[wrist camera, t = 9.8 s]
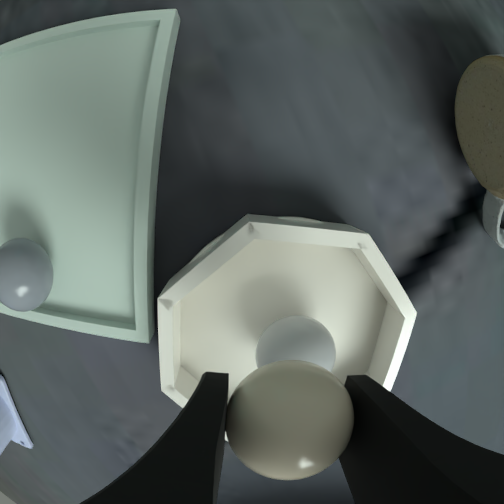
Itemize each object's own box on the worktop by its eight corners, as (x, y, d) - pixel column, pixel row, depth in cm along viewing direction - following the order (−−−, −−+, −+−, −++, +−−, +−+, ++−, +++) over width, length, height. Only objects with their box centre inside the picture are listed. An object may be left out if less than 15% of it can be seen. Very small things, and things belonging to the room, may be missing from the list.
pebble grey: (246, 367, 14) (260, 412, 11) (252, 302, 13) (269, 339, 10) (312, 363, 15) (338, 404, 11) (324, 302, 14) (357, 335, 11)
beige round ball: (223, 419, 9) (221, 501, 6) (229, 333, 8) (226, 418, 5) (322, 419, 9) (347, 494, 6) (345, 338, 9) (392, 411, 5)
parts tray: (-17, 297, 14) (-28, 303, 12) (-7, 56, 10) (-18, 52, 9) (154, 331, 14) (149, 343, 13) (180, 20, 11) (176, 8, 10)
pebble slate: (21, 291, 13) (-17, 315, 10) (15, 229, 12) (-28, 243, 9) (69, 301, 13) (33, 330, 10) (64, 233, 12) (22, 250, 9)
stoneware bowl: (171, 406, 16) (164, 436, 13) (171, 205, 13) (156, 211, 11) (358, 410, 16) (371, 437, 14) (407, 230, 14) (435, 240, 11)
